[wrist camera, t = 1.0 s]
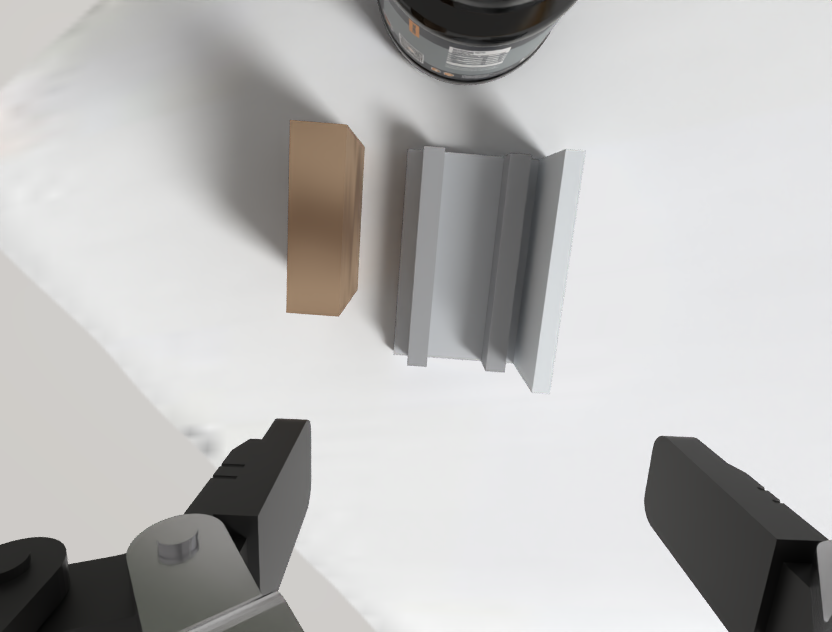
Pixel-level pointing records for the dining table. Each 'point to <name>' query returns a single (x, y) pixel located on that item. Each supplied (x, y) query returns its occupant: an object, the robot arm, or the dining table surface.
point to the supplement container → (470, 35)
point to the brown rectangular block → (323, 217)
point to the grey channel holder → (486, 258)
